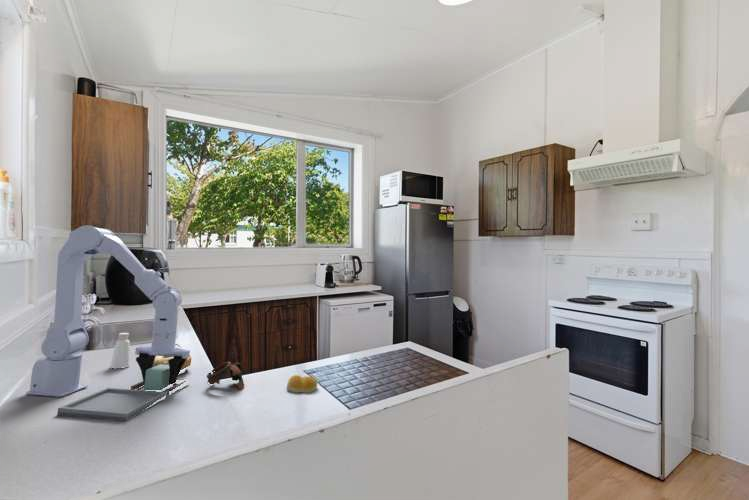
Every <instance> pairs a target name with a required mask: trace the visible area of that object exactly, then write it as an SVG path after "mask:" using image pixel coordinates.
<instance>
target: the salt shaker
mask: <svg viewBox="0 0 749 500" xmlns="http://www.w3.org/2000/svg"><path fill="white" fill-rule="evenodd" d="M129 335H130V333H129V332H119V333H118V340H116V341H115V344H114V345H115V346H114V349H113V354H112V358H111V362H110V366H109V368H110V369H112V368H114V369H113V370H117V369H116V368H122V367H126V366H128V365H129V364H130V365H131V341H130V340H129Z"/></svg>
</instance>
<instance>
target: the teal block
mask: <svg viewBox="0 0 749 500" xmlns="http://www.w3.org/2000/svg"><path fill="white" fill-rule="evenodd" d="M169 375H170V368H169V365H163V364H160V365H157V366H155V367H152V368H150V369H147V370H146V375H145V384H144V387H143V390H162V389H163V388H165V387H167V386H168V385H170V384H169Z"/></svg>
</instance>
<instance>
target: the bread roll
mask: <svg viewBox="0 0 749 500" xmlns="http://www.w3.org/2000/svg"><path fill="white" fill-rule="evenodd" d="M317 388H318V382H317V380H316V378H315V377H314V376H300V375H296V374H295V375H292V376H291V377H290V378H289V379H288V381H287V384H286V390H287V391H289V392H292V393H305V394H306V393H307V394H308V393H311V392H314V391H315V390H316V389H317Z"/></svg>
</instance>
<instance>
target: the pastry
mask: <svg viewBox="0 0 749 500" xmlns="http://www.w3.org/2000/svg"><path fill="white" fill-rule="evenodd" d="M175 346H177V347H180V348H179V349H182V347H181V346H180V345H179V344H178V343H175ZM172 358H174V357H168V356H156V357H155V360H154V363H153V367H155V366H157V365H160V364H163V365H169V362H168V360H170V359H172ZM191 364H192V357H191V355H190V354H189V357H188V358H187V360H186V361H185V363H184V364H183V366H182V368H181V370H182V369H184V368H186V367H188V366H190V367H191Z"/></svg>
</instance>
